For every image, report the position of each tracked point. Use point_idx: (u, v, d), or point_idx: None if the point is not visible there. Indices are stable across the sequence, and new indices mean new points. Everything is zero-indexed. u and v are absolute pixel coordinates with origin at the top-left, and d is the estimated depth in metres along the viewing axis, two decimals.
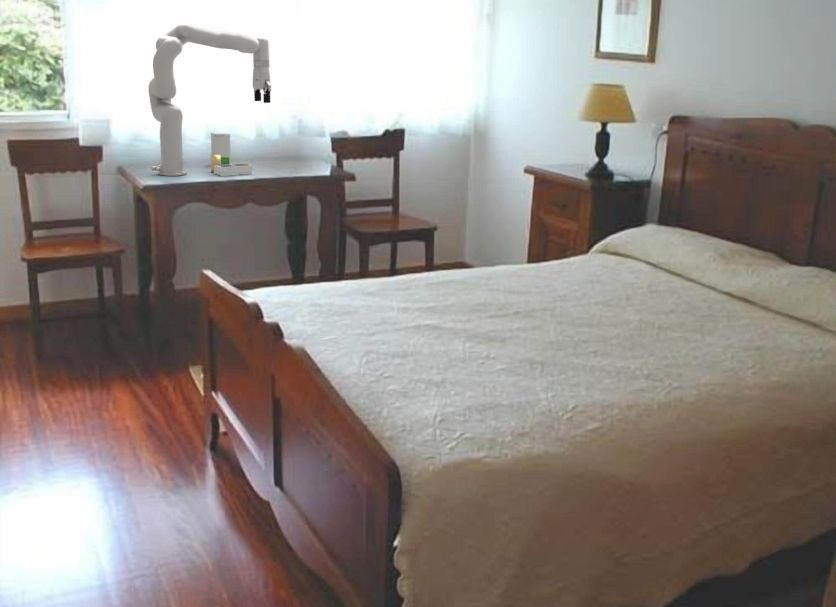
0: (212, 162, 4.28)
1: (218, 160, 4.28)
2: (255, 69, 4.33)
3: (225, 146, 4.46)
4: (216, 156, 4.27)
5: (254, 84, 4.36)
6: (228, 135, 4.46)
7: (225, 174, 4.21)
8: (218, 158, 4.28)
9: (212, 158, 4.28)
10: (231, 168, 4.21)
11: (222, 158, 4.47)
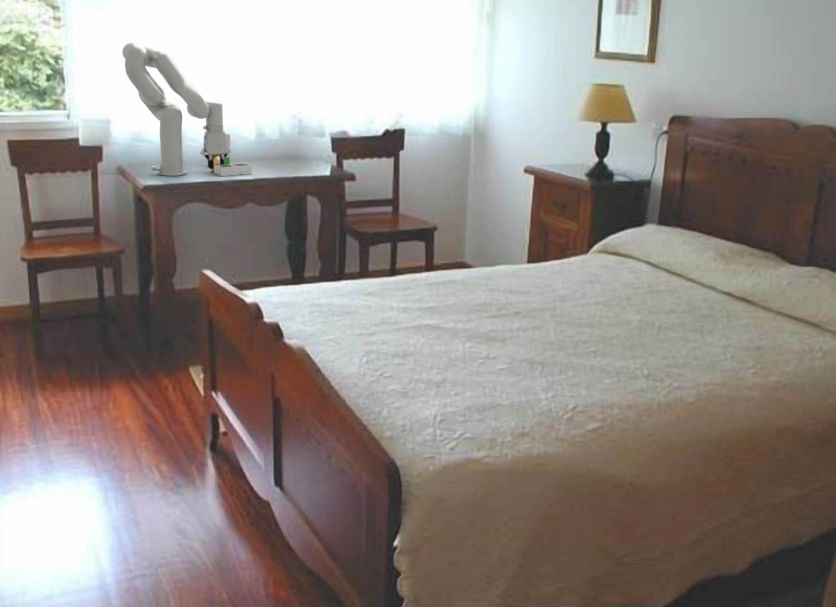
0: None
1: (218, 160, 4.28)
2: (215, 134, 4.24)
3: None
4: (216, 156, 4.27)
5: (213, 149, 4.25)
6: (228, 135, 4.46)
7: (225, 174, 4.21)
8: (218, 158, 4.28)
9: (212, 158, 4.28)
10: (231, 168, 4.21)
11: None
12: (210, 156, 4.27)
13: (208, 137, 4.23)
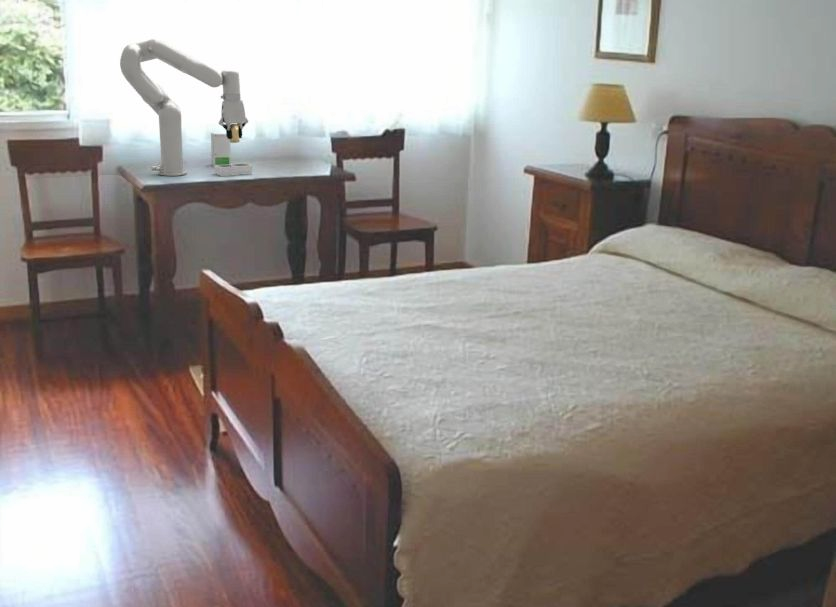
0: None
1: (236, 130, 4.23)
2: (232, 103, 4.18)
3: (225, 146, 4.46)
4: (234, 126, 4.22)
5: (231, 119, 4.19)
6: None
7: (225, 174, 4.21)
8: (236, 128, 4.22)
9: (230, 128, 4.22)
10: (231, 168, 4.21)
11: (222, 158, 4.47)
12: (228, 126, 4.21)
13: (226, 106, 4.17)
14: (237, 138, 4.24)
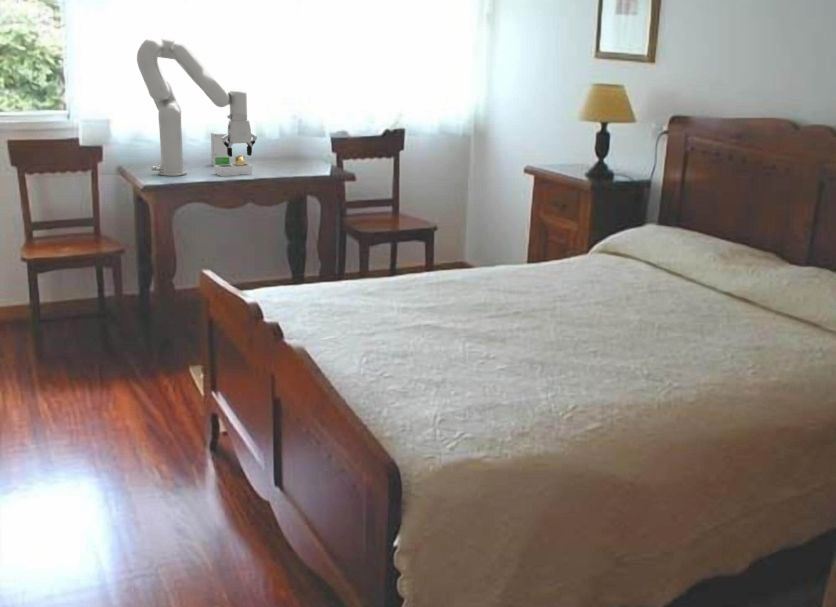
0: (236, 164, 4.26)
1: (242, 162, 4.26)
2: (239, 123, 4.19)
3: (225, 146, 4.46)
4: (240, 158, 4.25)
5: (237, 139, 4.21)
6: None
7: (225, 174, 4.21)
8: (242, 160, 4.25)
9: (236, 160, 4.25)
10: (231, 168, 4.21)
11: (222, 158, 4.47)
12: (230, 144, 4.21)
13: (232, 126, 4.18)
14: None
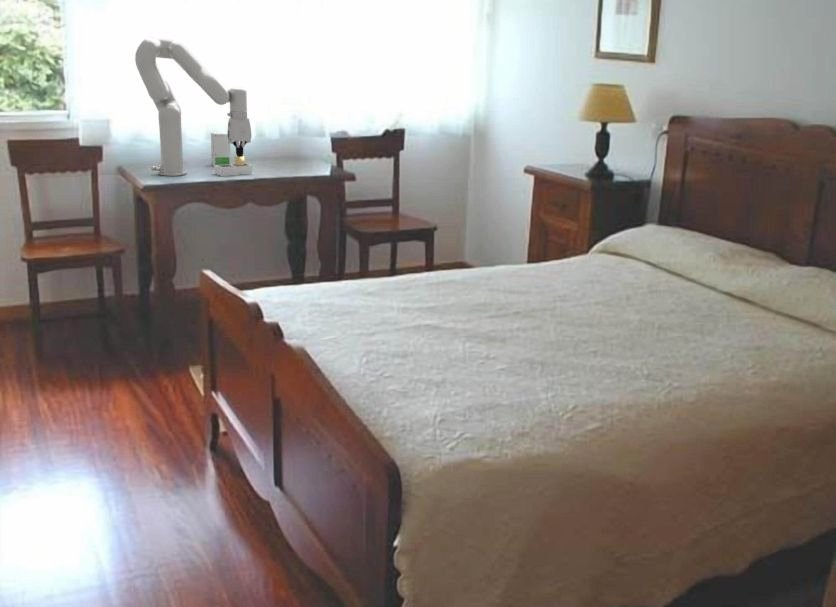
0: (236, 164, 4.26)
1: (242, 162, 4.26)
2: (239, 121, 4.19)
3: (225, 146, 4.46)
4: (240, 158, 4.25)
5: (237, 136, 4.20)
6: None
7: (225, 174, 4.21)
8: (242, 160, 4.25)
9: (236, 160, 4.25)
10: (231, 168, 4.21)
11: (222, 158, 4.47)
12: (237, 143, 4.23)
13: (232, 124, 4.18)
14: None
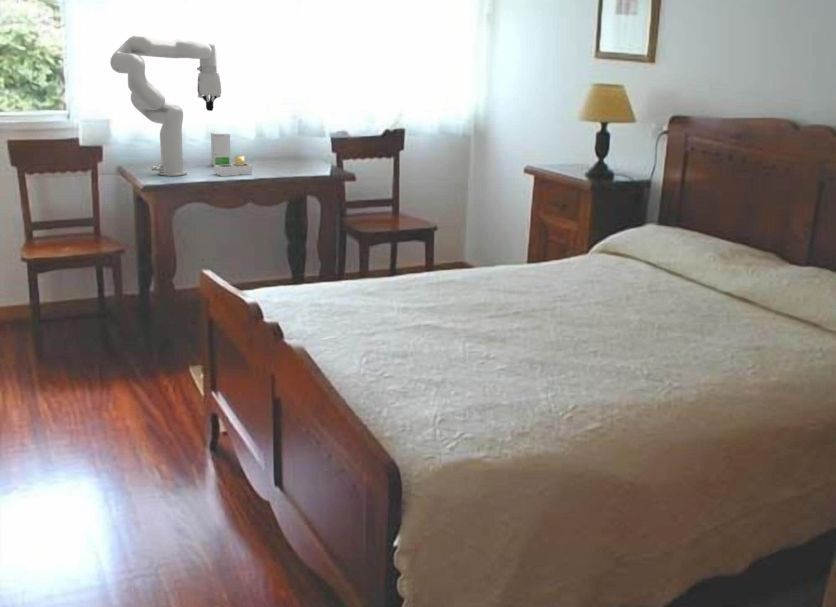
0: (236, 164, 4.26)
1: (242, 162, 4.26)
2: (208, 75, 4.25)
3: (225, 146, 4.46)
4: (240, 158, 4.25)
5: (206, 90, 4.27)
6: (228, 135, 4.46)
7: (225, 174, 4.21)
8: (242, 160, 4.25)
9: (236, 160, 4.25)
10: (231, 168, 4.21)
11: (222, 158, 4.47)
12: (207, 98, 4.29)
13: (202, 78, 4.24)
14: None
